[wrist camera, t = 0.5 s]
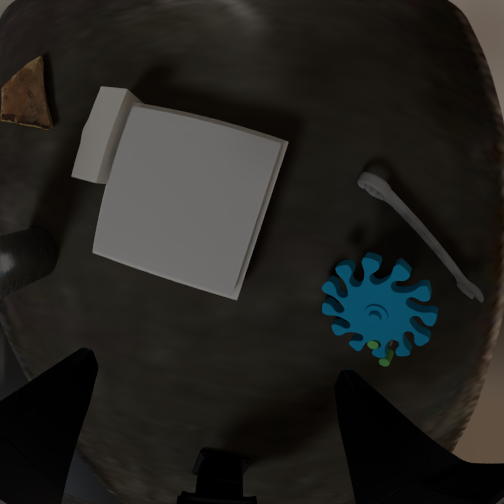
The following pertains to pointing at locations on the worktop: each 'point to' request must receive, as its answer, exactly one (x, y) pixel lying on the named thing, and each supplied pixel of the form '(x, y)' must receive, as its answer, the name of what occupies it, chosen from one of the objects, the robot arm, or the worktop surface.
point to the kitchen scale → (177, 190)
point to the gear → (379, 308)
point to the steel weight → (25, 259)
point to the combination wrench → (417, 229)
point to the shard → (27, 97)
